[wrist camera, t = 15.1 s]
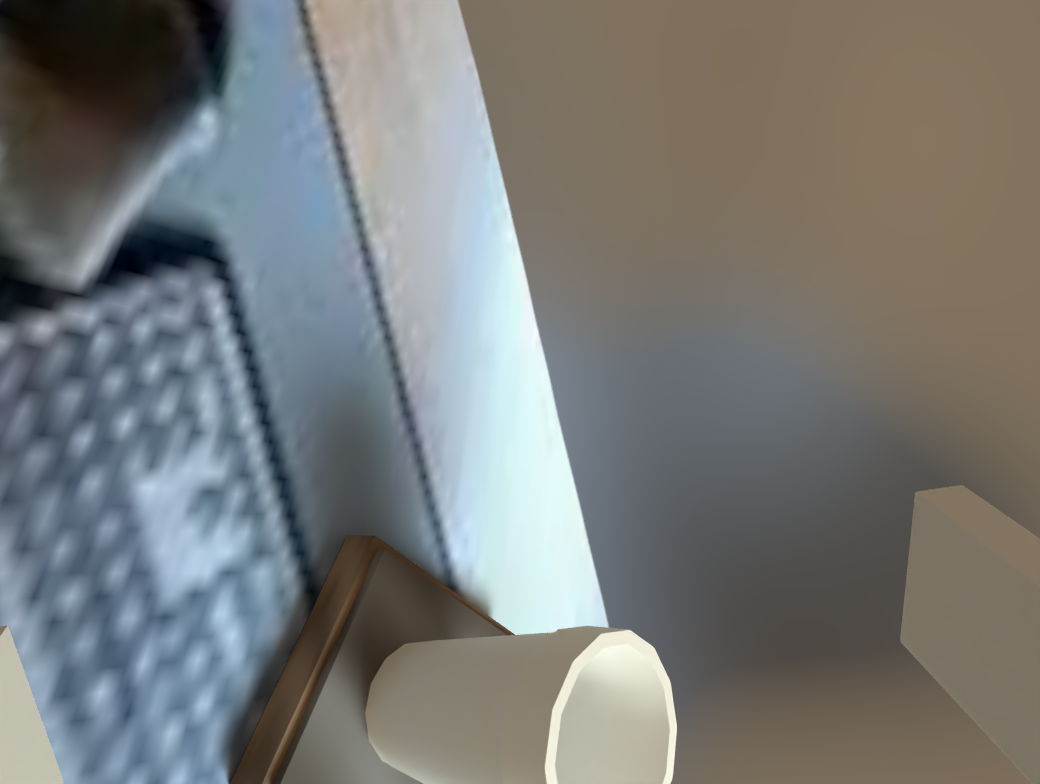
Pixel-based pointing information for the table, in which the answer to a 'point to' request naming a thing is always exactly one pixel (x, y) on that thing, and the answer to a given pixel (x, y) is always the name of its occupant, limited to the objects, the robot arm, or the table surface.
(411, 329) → the table surface
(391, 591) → the stand
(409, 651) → the foam cup
